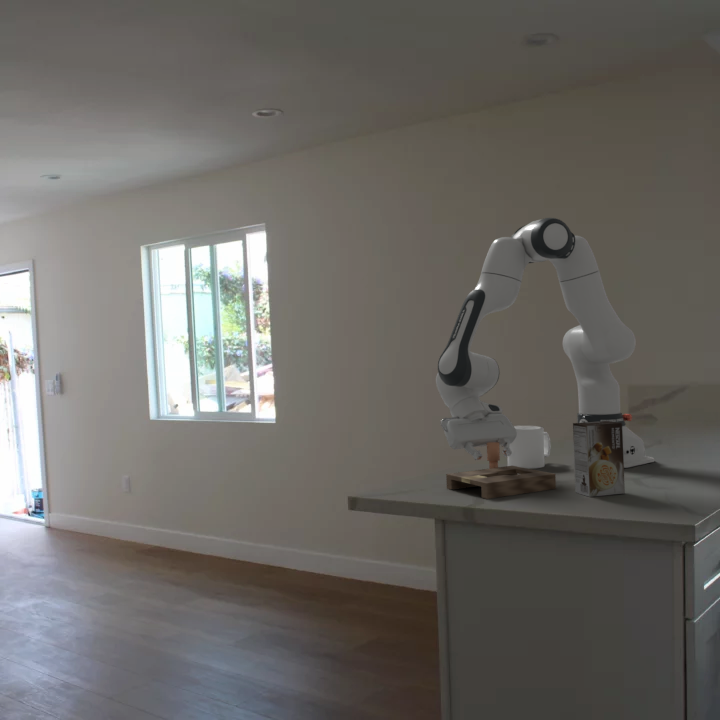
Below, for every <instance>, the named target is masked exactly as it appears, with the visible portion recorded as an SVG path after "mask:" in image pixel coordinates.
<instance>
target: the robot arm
mask: <svg viewBox="0 0 720 720" xmlns="http://www.w3.org/2000/svg"><path fill="white" fill-rule="evenodd" d="M484 258H485V259H484V261H483V264H482V268H481V272H480V276H479V279H478V281H477V283H476V285H475V288H474V289H473V290H472V291H470V292H469V293H468V294H467V296H466V297H465V299H464V302H463V304H462V306H461V308H460V311H459V313H458V315H457V319H456V320H455V323H454V326H453V329H452V332H451V334H450V338H449V340H448V342H447V344H446V345H445V348H444V349H443V351H442V353H441V355H440V356H439V358H438V362H437V374H436V376H435V385H436V389H437V391H438V393H439V396H440V398H441V399H442V401H443V403H444V405H445V406H446V407H448V409H449V413H450V415H451V417H444V418H443V419H442V420H440V426H441V428H442V430H443V431H444V435H445V438H446V441H447V443H448V446H449V447H450V448H451V449H453V450H460V449H464V450H465V452H467V454H469V455H471V456H472V457H473V459H474V460H475V461H478V460H481V459H482V457H483V454H482V453H481V451H480V450H477V449H476V448H479V447H481V448H482V447H487V443H488V442H499V446H500V445H501V447H503V450H502V451H501V453H502V455H503V457H504V458H506V457H507V456H510V455H511V454H512V451H511V450H510V448H509V447H510V443H512V442H513V441H514V440H515V438H516V436H517V431H516V429H515V428H514V426H515V425H513V422H512V421H511V420H510V419H509V417H508V416H507V415H505V414H504V413H503V411H504V410H503V408H502V406H500V405H495V404H492V403H487V402H485V401H481V398H480V397H483V396H484V395H486V394H487V393H488V392H489V391H490V390H492V389H493V388H494V387H495V386H496V385H497V384H498V381H499V379H500V375H501V374H500V373H501V372H500V368H499V364H498V362H497V361H496V359H494V358H493V357H490V356H487V355H484V354H480V353H476V352H473V351H471V350H472V349H471V347H472V345H473V341H474V338H475V336H476V334H477V331H478V329H479V325H480V323H481V321H482V320H483V319H484V317H486V316H487V315H489V314H493V313H497V312H502V311H505V310H507V309H508V308H509V307H511V306H512V305H514V304H515V302H516V301H517V298H518V296H519V293H520V291H521V290H520V289H521V285H522V282H523V281H522V280H523V277H524V271H525V269H526V268H527V265H528V264H534V263H542V262H546V261H549V262H550V263H551V264H552V265H553V267H554V269H555V271H556V276H557V279H558V283H559V286H560V291H561V294H562V297H563V300H564V304H565V305H564V306H565V307H566V309H567V310H568V312H569V313H571V314H572V315H573V317H574V318H575V319H576V320H577V321H576V322H578V324H579V325H576V326H574V327H572V328H570V329H568V330H567V331H566V332H565V334H564V336H563V338H562V349H563V352H564V353H565V355H566V356H567V357H568V359H569V361H570V362H571V365H572V369H573V372H574V375H575V379H576V386H577V395H578V413H577V415H576V416H577V418H576V419H577V422H576V423H583V422H598V421H612V422H618V423H622V433H623V459H624V469H625V468H626V469H627V468H628V469H629V468H632V467H637V466H641V465H645V464H649V463H654V462H655V458H654V457H653V456H648V455H646V449H645V443H644V441H643V439H642V438H641V437H640V436H638V435H637V434H636V433H635V432H633V431H632V430H631V429H630V428H629V427H627V426H626V425H627V424H626V421H627V422H631V421H632V420H633V416H632V414H631V413H624V414H623V412H621V387H620V384H619V381H618V380H617V379H616V378H615V376H614V375H613V372H612V370H611V367H610V364H615V363H618V362H622V361H625V360H627V359H629V358H630V357H631V356H632V354H633V353H634V351H635V349H636V344H637V340H636V336H635V333H634V331H633V330H632V329H631V328H630V327H629V326H627V325H626V324H625V323H624V322H623V321H622V320H621V319H620V317H619V316H618V314H617V312H616V311H615V309H614V307H613V306H612V304H611V302H610V301H609V298H608V295H607V293H606V289H605V286H604V282H603V279H602V275H601V272H600V268H599V265H598V262H597V259H596V257H595V254H594V251H593V249H592V247H591V246H590V244H589V242H588V240H587V239H586V238H585V237H583V236H580V235H575V234H574V233H573V232H572V231H571V229H570V228H569V226H568V225H567V224H566V223H565V222H564V221H563V220H561V219H560V218H559V219H558V218H555V217H545V218H542V219H537V220H533V221H530V222H529V223H528V224H524V225H522V226H520V227H519V228H517V230H516V231H514V233H513V234H512V235H511V236H502V237H499V238H496V239H495V240H494V241H493V242H492V243H491V245H490V246H489V249H488V251H487V254H486V257H484Z"/></svg>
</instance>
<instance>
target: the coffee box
mask: <svg viewBox="0 0 720 720" xmlns="http://www.w3.org/2000/svg"><path fill="white" fill-rule="evenodd" d="M572 429H573V430H572V431H573V433H572V434H573V438H572V439H573V457H574V458H573V460H574V461H573V463H574V483H575V484H574V487H575V493H577V494H580V495H583V496H586V497H589V498H595V497H601V496H612V495H622V494H625V492H626V490H625V489H626V487H625V468H624V459H623V433H622V423H618V422H612V421H598V422H583V423H577V422H572Z"/></svg>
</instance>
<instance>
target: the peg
mask: <svg viewBox="0 0 720 720" xmlns="http://www.w3.org/2000/svg"><path fill="white" fill-rule="evenodd" d="M500 455H501V453H500V445H499V442H488V443H487V446H486V459H487V461H488V462H489V463H488V464H489V468H488V469H490V468H498V467H499V462H500V461H501V456H500Z"/></svg>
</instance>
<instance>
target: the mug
mask: <svg viewBox="0 0 720 720" xmlns="http://www.w3.org/2000/svg"><path fill="white" fill-rule="evenodd" d="M513 426H514V428H515V429H516V431H517V436H516V438H515V440H514V441H513V442H512V443H510V447H509V448H510V450H511V451H512V454H511V455H510V456H507V466H517V467H522V468H527V469H539V468H544V467H545V464H546V462H545V460H546V459H545V458H547V457H550V453H551V438H550V435H549V433H548V432H547V431H545V429H544V427H543V426H539V425H513Z"/></svg>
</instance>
